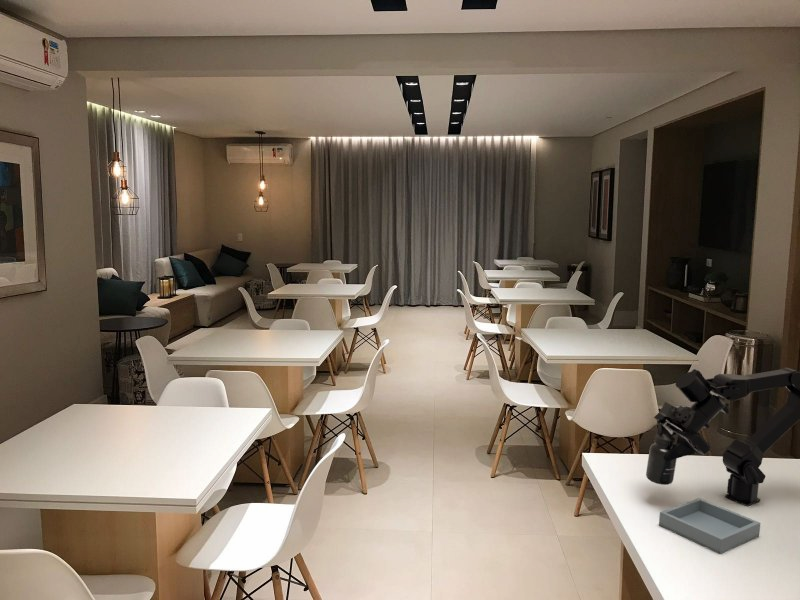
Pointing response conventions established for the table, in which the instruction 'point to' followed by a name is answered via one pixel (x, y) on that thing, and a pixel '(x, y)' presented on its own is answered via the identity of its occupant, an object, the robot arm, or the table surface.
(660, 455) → the supplement bottle
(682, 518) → the box
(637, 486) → the table surface
